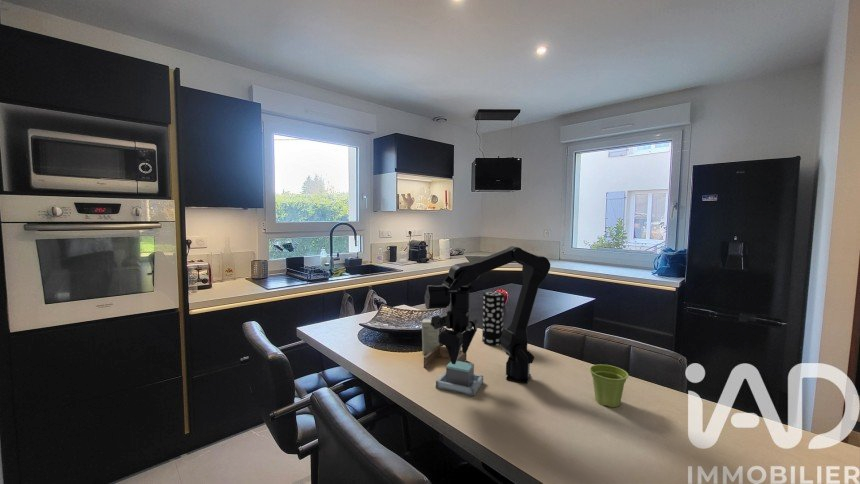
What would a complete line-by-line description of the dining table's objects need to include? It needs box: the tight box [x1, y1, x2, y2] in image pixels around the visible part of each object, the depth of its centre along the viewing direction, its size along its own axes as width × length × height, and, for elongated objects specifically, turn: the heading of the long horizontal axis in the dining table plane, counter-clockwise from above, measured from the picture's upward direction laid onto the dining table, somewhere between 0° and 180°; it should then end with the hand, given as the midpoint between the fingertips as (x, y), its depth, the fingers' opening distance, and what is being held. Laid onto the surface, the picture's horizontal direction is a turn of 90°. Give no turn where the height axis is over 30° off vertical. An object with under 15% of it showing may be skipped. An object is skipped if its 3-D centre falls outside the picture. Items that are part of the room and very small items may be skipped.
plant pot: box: [589, 363, 629, 408], centre depth 96 cm, size 9×9×9 cm
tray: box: [435, 371, 484, 397], centre depth 106 cm, size 12×10×2 cm
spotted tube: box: [481, 291, 505, 347], centre depth 142 cm, size 8×8×20 cm
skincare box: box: [421, 318, 440, 355], centre depth 131 cm, size 6×4×12 cm
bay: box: [423, 345, 467, 368], centre depth 121 cm, size 11×12×4 cm
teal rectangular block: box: [445, 361, 475, 387], centre depth 106 cm, size 7×5×6 cm
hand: (459, 358), depth 105 cm, fingers open, 9 cm apart
